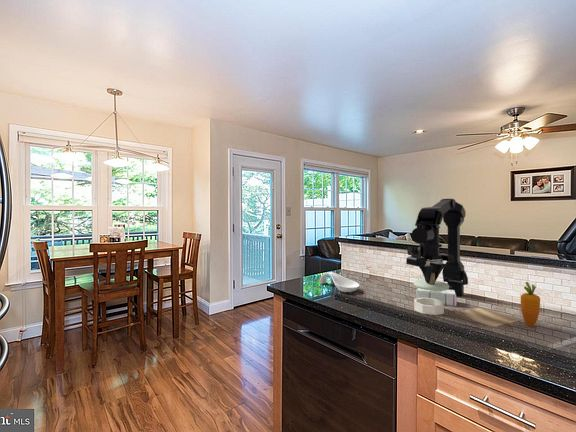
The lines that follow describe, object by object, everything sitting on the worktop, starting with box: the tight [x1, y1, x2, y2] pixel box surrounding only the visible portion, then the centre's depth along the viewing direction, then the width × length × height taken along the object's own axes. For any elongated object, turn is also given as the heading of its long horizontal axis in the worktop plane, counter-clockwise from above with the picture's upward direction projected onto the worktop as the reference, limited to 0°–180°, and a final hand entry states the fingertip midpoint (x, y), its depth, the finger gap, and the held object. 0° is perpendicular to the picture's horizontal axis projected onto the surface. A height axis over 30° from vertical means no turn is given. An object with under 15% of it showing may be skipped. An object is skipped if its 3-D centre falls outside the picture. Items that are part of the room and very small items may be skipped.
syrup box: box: [415, 287, 458, 307], centre depth 120 cm, size 6×6×14 cm
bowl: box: [413, 297, 445, 316], centre depth 111 cm, size 10×10×4 cm
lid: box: [413, 273, 449, 291], centre depth 111 cm, size 12×12×5 cm
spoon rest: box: [319, 271, 361, 293], centre depth 147 cm, size 24×12×7 cm, turn 37°
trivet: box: [454, 306, 521, 328], centre depth 104 cm, size 14×14×1 cm
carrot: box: [520, 281, 541, 328], centre depth 95 cm, size 5×5×15 cm
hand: (430, 282), depth 111 cm, fingers closed on lid, 3 cm apart
